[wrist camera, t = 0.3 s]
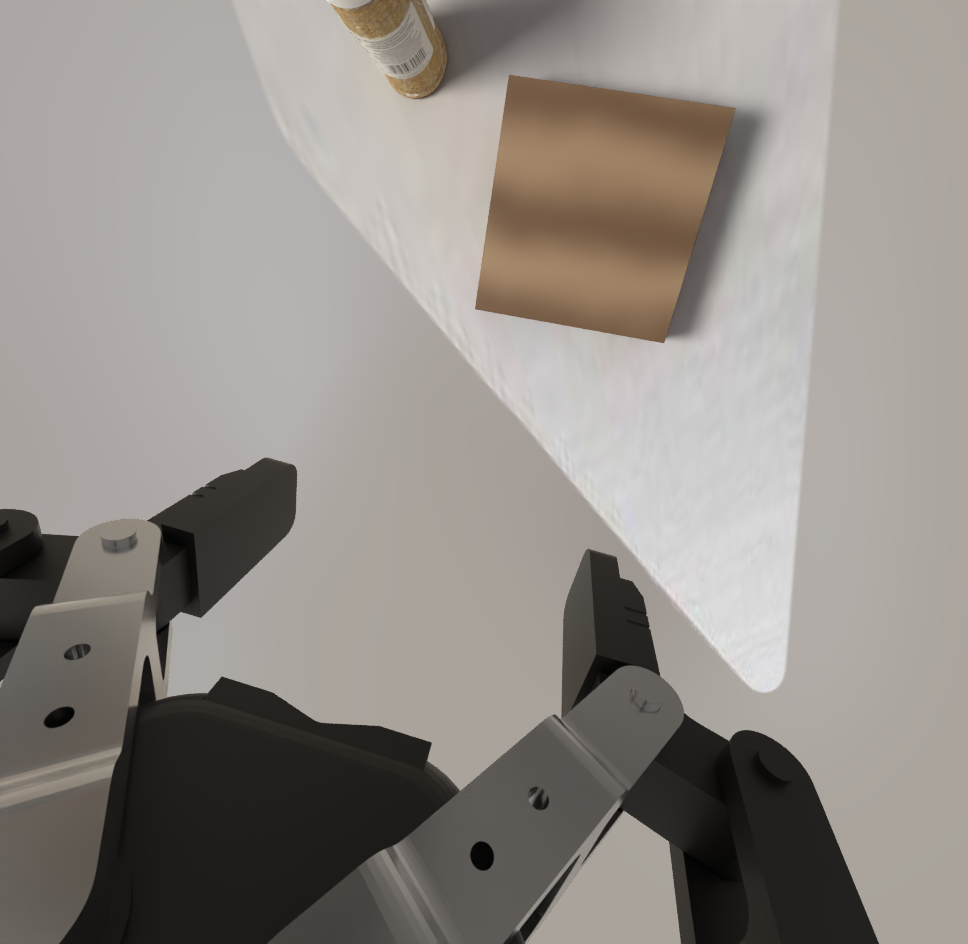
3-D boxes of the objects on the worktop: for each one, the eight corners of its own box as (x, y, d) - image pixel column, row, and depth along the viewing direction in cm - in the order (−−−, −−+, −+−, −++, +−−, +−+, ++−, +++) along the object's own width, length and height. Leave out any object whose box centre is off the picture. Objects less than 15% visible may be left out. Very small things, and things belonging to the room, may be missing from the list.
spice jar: (445, 14, 30) (374, -176, 18) (449, 98, 32) (387, -22, 20) (379, 22, 31) (265, -156, 19) (386, 104, 33) (287, -9, 20)
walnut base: (512, 93, 31) (509, 74, 29) (718, 124, 31) (735, 108, 28) (480, 307, 37) (475, 309, 34) (655, 338, 36) (664, 343, 33)
